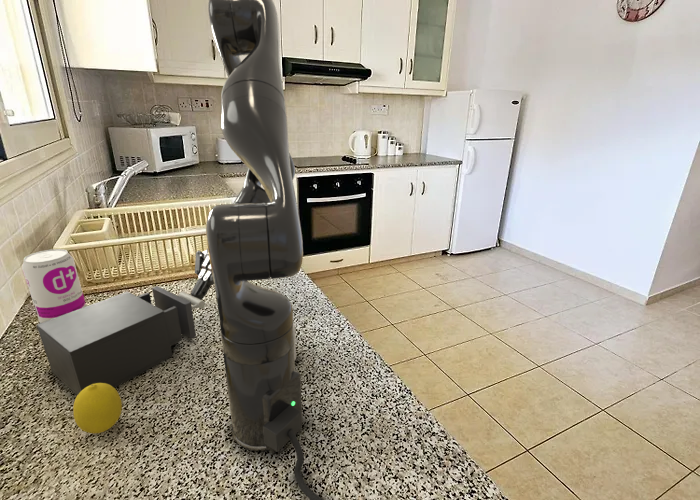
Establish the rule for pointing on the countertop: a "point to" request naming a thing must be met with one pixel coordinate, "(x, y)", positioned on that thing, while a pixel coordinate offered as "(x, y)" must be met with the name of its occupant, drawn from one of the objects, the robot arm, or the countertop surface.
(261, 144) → the robot arm
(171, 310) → the fryer drawer
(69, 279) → the supplement can
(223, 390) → the countertop surface
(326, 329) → the countertop surface
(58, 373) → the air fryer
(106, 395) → the lemon
